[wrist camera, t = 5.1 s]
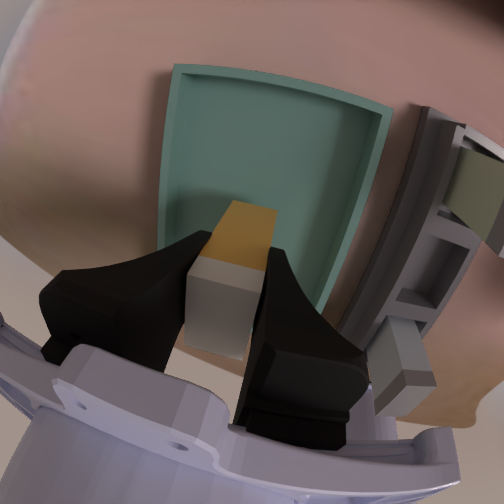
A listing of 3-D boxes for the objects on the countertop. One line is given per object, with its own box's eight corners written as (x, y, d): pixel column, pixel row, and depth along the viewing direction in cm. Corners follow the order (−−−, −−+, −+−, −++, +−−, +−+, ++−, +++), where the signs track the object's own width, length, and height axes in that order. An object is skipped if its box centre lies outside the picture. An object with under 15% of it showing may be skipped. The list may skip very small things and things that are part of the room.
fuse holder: (399, 348, 21) (405, 372, 19) (331, 337, 22) (333, 363, 19) (497, 149, 12) (522, 159, 10) (422, 106, 12) (444, 108, 10)
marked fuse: (263, 266, 16) (242, 360, 10) (224, 256, 17) (184, 345, 11) (277, 210, 15) (260, 292, 9) (233, 200, 15) (186, 274, 9)
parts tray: (306, 321, 21) (306, 344, 19) (170, 287, 22) (158, 307, 19) (379, 108, 13) (393, 109, 11) (191, 68, 13) (174, 63, 11)
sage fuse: (462, 209, 14) (524, 268, 8) (435, 197, 14) (498, 256, 8) (480, 158, 12) (554, 198, 6) (453, 143, 12) (530, 176, 6)
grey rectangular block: (389, 343, 20) (404, 416, 14) (364, 339, 20) (375, 416, 14) (410, 310, 18) (437, 386, 12) (384, 305, 18) (406, 385, 12)
